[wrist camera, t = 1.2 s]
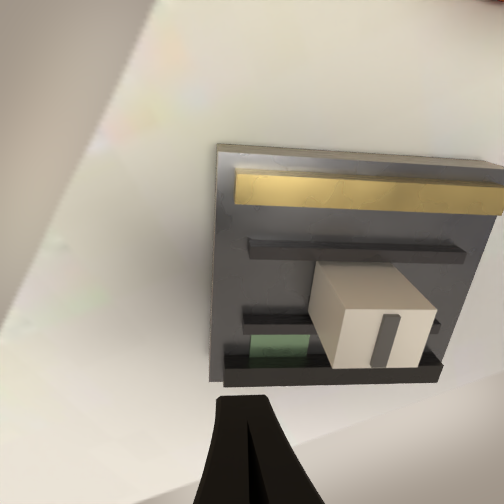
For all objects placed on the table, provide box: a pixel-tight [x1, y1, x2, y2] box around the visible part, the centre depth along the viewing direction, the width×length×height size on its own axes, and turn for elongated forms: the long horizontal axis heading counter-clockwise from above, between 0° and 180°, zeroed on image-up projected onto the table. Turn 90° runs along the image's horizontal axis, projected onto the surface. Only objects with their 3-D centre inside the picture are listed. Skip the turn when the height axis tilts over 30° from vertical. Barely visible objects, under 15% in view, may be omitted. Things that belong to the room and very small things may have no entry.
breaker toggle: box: [308, 261, 437, 369], centre depth 16 cm, size 4×3×4 cm
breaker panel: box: [209, 144, 504, 387], centre depth 18 cm, size 13×12×3 cm
